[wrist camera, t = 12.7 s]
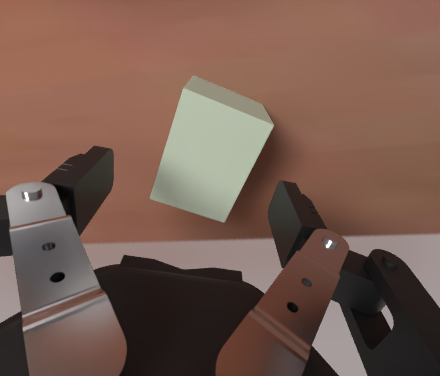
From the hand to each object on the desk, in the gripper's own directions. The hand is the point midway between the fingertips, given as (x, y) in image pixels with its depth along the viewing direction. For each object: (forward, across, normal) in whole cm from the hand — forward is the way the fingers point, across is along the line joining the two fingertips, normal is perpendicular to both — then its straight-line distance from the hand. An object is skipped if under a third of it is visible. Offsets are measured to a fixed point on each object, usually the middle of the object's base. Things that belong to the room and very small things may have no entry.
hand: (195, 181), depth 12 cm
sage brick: (+7, -1, 0) cm, 7 cm away
